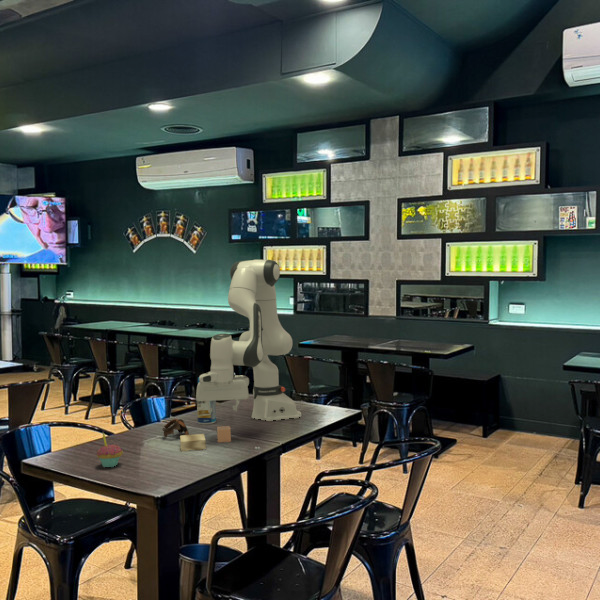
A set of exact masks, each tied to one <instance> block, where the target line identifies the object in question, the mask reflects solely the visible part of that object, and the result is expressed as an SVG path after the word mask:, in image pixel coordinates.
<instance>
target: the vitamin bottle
mask: <svg viewBox="0 0 600 600" xmlns="http://www.w3.org/2000/svg"><path fill="white" fill-rule="evenodd" d="M199 377H200V376H199ZM199 377H197V384H198V383H199V382H200V380H199ZM195 399H196V398H195ZM216 403H217V400H215V401H209V406H210V407H212V412H208V407H207V405H206V403H205V401H198V400H197V399H196V409H197V410H196V413H197V415H196V416H197V418H196V419H197V423H198V424H199V425H212V424H215V423H216V422H217V404H216Z"/></svg>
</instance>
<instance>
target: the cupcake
mask: <svg viewBox="0 0 600 600" xmlns="http://www.w3.org/2000/svg"><path fill="white" fill-rule="evenodd" d="M102 438H103V442H104V445H103V446H100V447H99V449H98V450H97V451H96V456H97V458H98V459H99V460H100V462H101V465H102V467H103V466H104V467H103V468H105V467H111V468H114V466H115V467H117V466H118V462H119V459H120V458H121V456H122V455H124V451H123V448H122V447H121V446H119V445H117V444H113V443H112V444H108V443H107V439H106V434H105V433H104V432H102ZM116 465H117V466H116Z"/></svg>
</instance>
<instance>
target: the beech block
mask: <svg viewBox="0 0 600 600" xmlns="http://www.w3.org/2000/svg"><path fill="white" fill-rule="evenodd" d="M179 438H180V439H179V441H180V442H179V443H180V445H181V446H180V445H179V446H180V452H181V451H183V452H190V451H189V450H195V451H203V450H202V449H206V447H207V446H206V437H205V433H197V434H194V433H193V434H189V435H185V434H182V435H180V436H179ZM206 450H207V449H206Z"/></svg>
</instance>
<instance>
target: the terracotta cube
mask: <svg viewBox="0 0 600 600" xmlns="http://www.w3.org/2000/svg"><path fill="white" fill-rule="evenodd" d="M216 428H217V429H216V436H217V439H218V440H217V443H231V442H232V437H231V436H232V432H231V431H232V430H231V429H232V428H231V426H230V425H222V426H217V427H216Z"/></svg>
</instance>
